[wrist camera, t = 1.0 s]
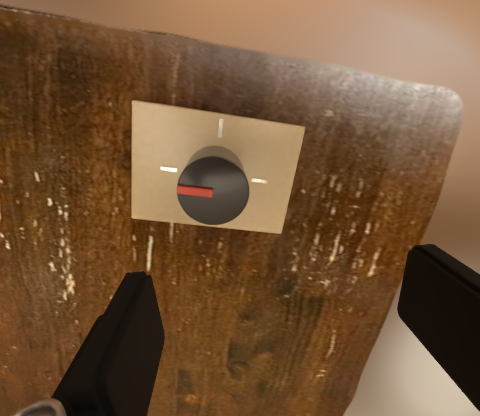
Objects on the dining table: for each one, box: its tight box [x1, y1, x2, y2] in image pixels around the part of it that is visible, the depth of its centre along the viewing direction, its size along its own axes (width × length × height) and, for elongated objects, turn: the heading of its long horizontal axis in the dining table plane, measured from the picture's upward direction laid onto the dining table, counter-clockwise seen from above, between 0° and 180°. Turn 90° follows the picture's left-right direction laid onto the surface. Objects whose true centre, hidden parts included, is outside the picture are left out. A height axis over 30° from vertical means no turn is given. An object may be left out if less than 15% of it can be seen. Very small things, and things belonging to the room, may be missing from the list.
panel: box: [132, 100, 305, 234], centre depth 24 cm, size 14×10×3 cm
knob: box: [177, 146, 249, 225], centre depth 20 cm, size 5×5×5 cm
